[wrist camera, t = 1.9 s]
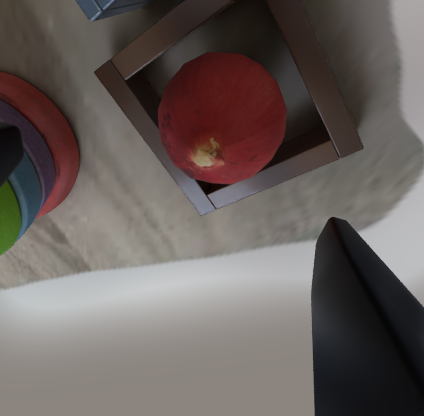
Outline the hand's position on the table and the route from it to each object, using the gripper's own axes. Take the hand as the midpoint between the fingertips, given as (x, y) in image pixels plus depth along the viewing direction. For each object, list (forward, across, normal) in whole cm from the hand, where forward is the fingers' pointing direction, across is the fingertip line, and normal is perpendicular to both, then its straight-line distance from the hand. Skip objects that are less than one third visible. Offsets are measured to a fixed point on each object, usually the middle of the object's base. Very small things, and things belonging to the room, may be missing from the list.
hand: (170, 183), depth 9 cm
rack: (+11, 0, +1) cm, 11 cm away
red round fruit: (+11, 0, +1) cm, 11 cm away
